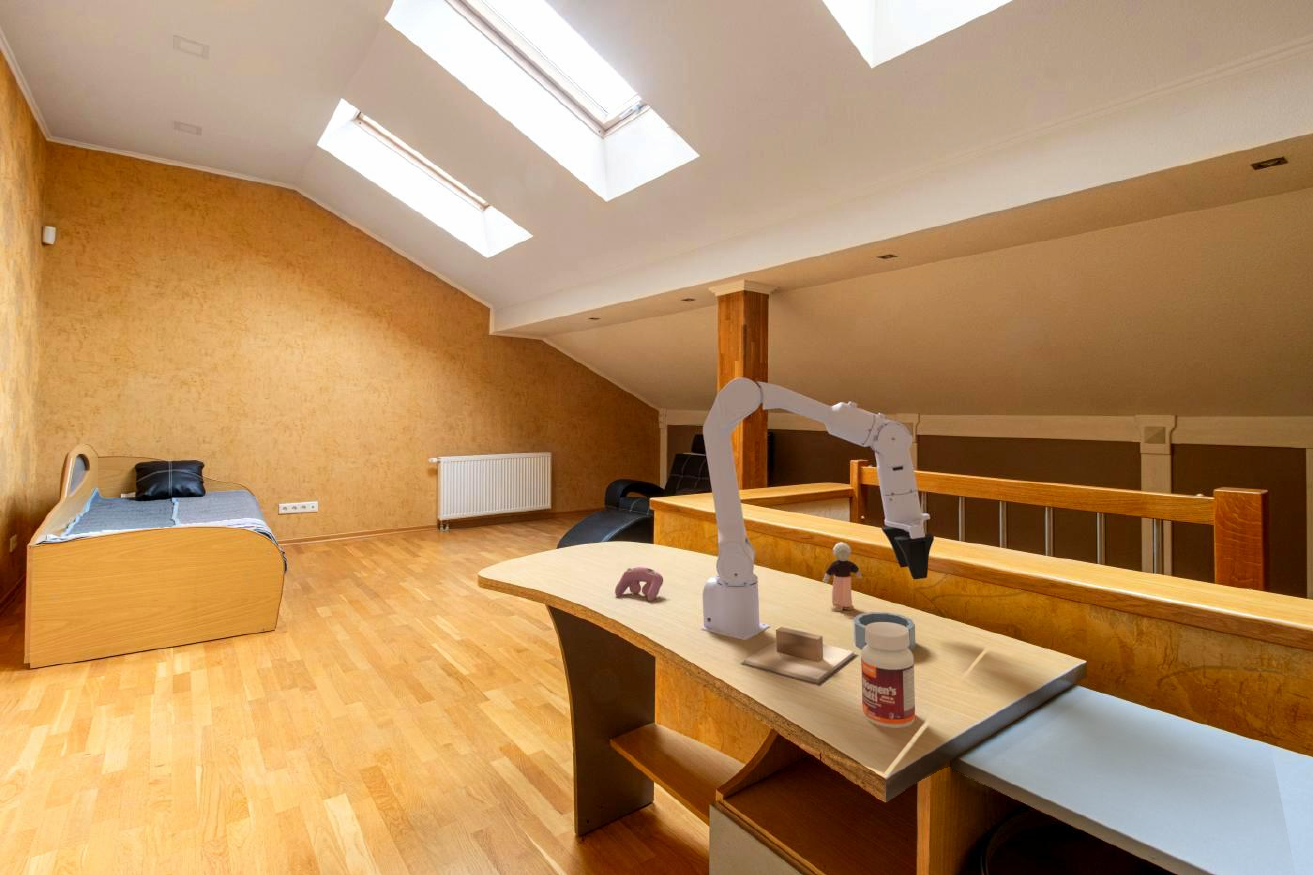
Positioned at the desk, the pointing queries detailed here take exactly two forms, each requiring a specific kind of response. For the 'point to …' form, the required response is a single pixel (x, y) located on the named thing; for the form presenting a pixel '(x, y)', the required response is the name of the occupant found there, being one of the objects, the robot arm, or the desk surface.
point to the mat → (806, 680)
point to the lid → (800, 656)
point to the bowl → (874, 617)
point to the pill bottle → (888, 675)
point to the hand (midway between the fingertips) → (913, 572)
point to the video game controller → (640, 575)
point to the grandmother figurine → (841, 577)
